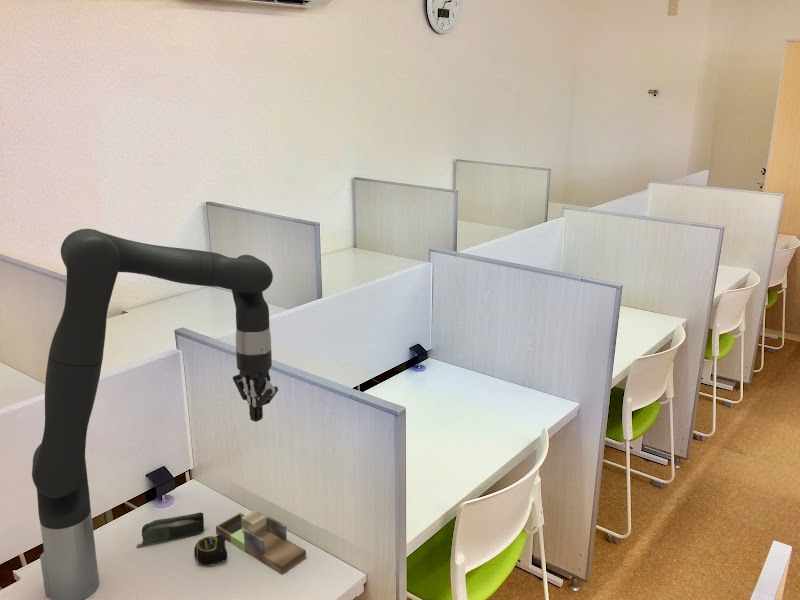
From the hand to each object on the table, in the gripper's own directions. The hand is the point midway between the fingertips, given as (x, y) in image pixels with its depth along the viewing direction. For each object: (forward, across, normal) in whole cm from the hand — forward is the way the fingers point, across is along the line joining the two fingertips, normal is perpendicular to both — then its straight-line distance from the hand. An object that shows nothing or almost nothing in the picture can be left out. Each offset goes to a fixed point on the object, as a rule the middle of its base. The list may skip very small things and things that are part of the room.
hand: (256, 419), depth 152 cm
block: (+27, +1, -3) cm, 27 cm away
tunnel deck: (+29, +4, -4) cm, 29 cm away
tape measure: (+29, -1, -13) cm, 32 cm away
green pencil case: (+29, -14, -15) cm, 36 cm away
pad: (+29, 0, -4) cm, 29 cm away
